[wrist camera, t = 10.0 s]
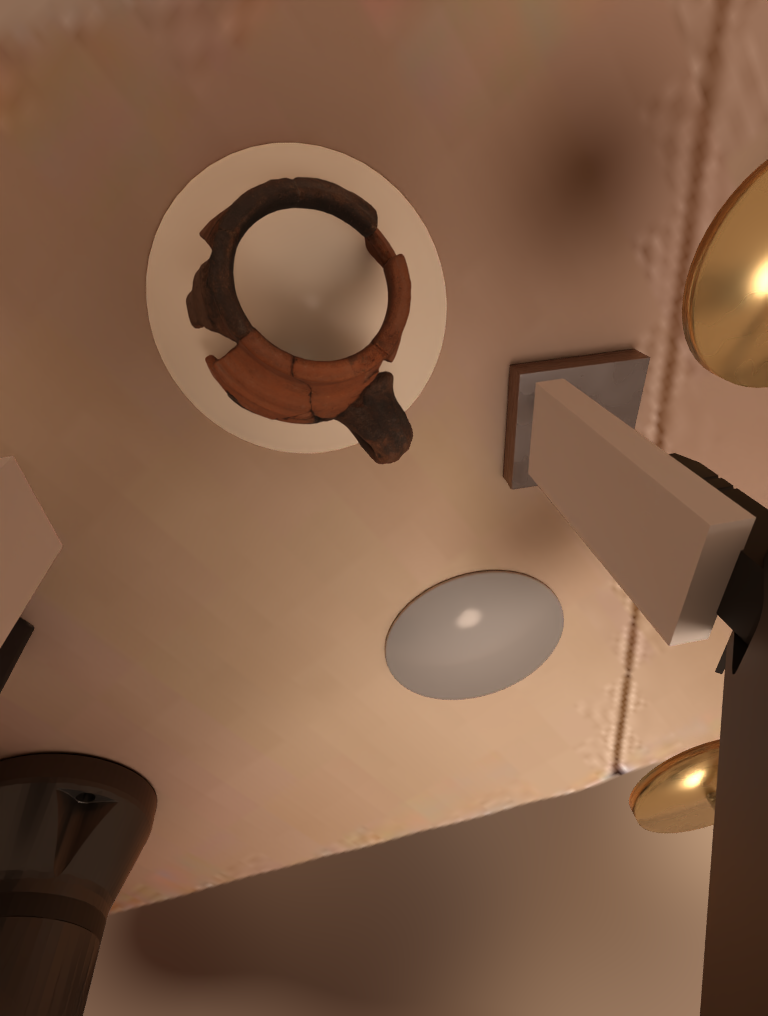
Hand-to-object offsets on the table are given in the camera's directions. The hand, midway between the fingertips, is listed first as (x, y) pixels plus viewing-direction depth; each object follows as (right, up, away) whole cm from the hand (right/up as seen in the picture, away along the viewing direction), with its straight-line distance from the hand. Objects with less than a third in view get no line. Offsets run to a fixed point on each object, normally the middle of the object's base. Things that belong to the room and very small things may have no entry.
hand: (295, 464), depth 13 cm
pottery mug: (-1, +8, +11) cm, 14 cm away
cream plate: (-2, +8, +11) cm, 14 cm away
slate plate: (+9, -11, +26) cm, 30 cm away
